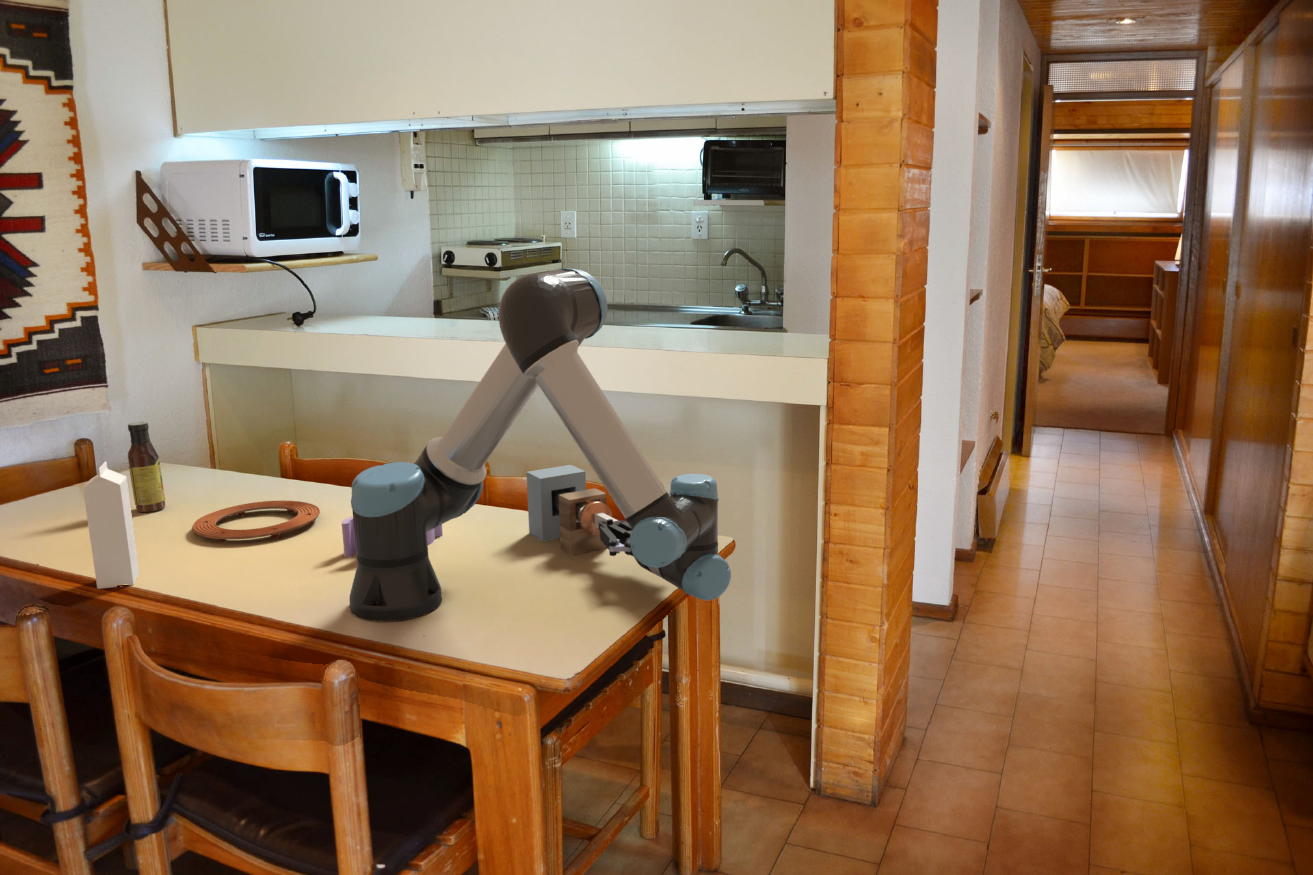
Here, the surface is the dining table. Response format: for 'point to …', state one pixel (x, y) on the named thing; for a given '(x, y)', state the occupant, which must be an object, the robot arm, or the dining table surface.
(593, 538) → the sleeve
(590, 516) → the pin
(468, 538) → the dining table surface
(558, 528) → the socket block
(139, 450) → the sauce bottle
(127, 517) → the milk
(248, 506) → the ring
